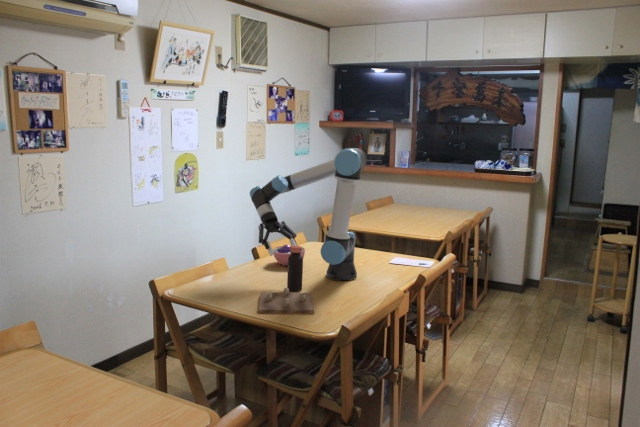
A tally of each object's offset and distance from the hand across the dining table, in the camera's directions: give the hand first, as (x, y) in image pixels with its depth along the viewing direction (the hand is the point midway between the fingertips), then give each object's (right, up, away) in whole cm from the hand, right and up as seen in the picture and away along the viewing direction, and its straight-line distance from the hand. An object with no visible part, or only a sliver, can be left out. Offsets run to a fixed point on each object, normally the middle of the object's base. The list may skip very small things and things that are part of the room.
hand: (284, 252), depth 248 cm
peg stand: (+2, -20, -23) cm, 30 cm away
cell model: (0, -9, +40) cm, 42 cm away
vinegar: (+5, -17, -3) cm, 18 cm away
